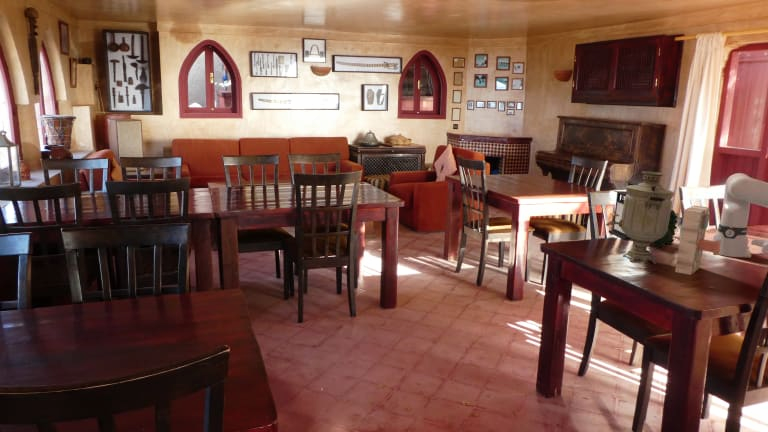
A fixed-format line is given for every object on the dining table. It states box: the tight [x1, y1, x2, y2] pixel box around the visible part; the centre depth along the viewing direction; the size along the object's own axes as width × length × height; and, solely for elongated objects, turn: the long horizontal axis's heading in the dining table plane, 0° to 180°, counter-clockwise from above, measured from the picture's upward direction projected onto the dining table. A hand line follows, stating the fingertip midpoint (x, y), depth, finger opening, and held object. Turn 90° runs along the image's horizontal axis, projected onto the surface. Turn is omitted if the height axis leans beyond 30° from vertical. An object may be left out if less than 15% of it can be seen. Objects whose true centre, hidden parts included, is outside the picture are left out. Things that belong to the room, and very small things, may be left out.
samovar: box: [605, 171, 675, 265], centre depth 254 cm, size 30×26×40 cm
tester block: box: [674, 205, 710, 276], centre depth 241 cm, size 16×6×27 cm, turn 139°
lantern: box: [608, 172, 643, 241], centre depth 301 cm, size 17×17×35 cm
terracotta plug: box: [698, 239, 721, 256], centre depth 238 cm, size 6×9×6 cm, turn 49°
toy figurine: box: [652, 209, 678, 249], centre depth 284 cm, size 9×19×25 cm
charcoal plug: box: [681, 213, 710, 230], centre depth 239 cm, size 6×9×6 cm, turn 49°
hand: (751, 241), depth 226 cm, fingers closed
